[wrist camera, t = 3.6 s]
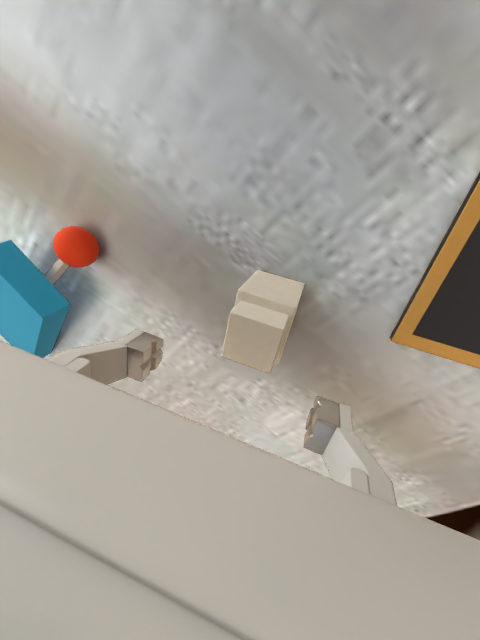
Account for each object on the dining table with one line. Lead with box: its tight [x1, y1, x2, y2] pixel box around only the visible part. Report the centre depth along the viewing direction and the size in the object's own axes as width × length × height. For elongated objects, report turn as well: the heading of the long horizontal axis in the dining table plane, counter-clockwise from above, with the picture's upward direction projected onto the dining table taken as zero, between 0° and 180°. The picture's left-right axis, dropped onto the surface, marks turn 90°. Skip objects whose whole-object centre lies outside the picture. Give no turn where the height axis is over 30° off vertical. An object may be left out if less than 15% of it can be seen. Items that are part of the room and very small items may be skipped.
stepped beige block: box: [221, 270, 305, 374], centre depth 19 cm, size 4×4×7 cm
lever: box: [0, 226, 99, 358], centre depth 27 cm, size 7×7×18 cm
